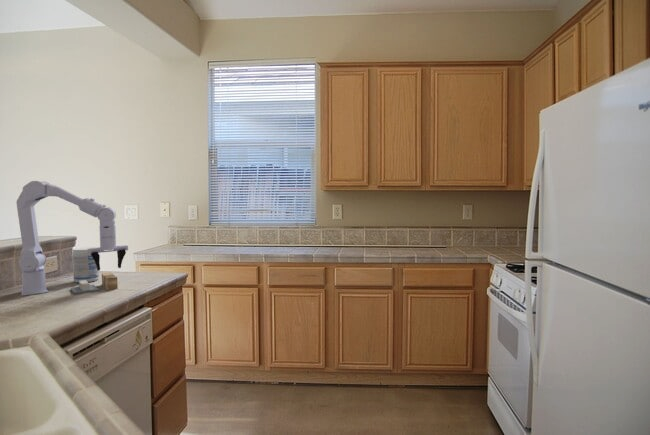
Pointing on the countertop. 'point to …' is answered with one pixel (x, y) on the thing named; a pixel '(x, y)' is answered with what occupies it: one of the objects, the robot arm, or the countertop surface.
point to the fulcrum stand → (84, 288)
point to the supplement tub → (84, 265)
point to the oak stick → (109, 281)
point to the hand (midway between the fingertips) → (109, 268)
